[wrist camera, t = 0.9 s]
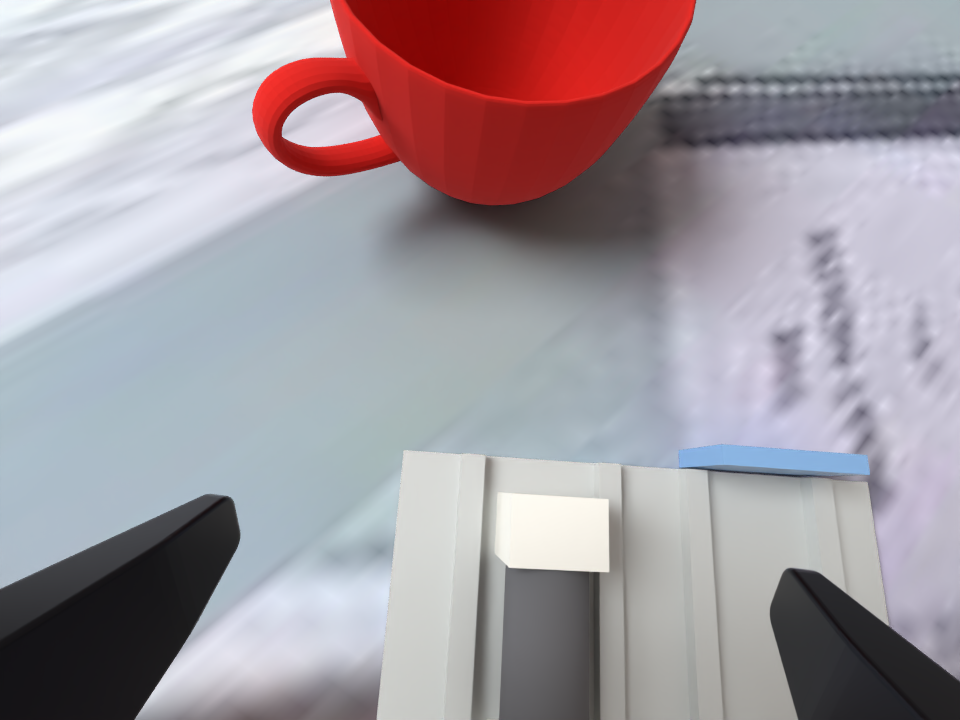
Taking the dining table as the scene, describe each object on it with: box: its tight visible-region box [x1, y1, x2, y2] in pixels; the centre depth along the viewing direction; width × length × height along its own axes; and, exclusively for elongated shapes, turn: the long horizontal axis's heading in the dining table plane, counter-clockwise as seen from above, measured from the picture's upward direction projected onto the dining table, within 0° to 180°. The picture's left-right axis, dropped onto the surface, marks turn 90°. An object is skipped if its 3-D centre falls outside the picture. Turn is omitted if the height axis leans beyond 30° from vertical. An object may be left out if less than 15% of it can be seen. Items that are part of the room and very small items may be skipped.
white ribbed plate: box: [377, 444, 889, 720], centre depth 19 cm, size 15×22×3 cm
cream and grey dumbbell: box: [487, 492, 609, 720], centre depth 18 cm, size 11×4×4 cm, turn 176°
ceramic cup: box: [252, 0, 696, 205], centre depth 20 cm, size 13×17×10 cm
